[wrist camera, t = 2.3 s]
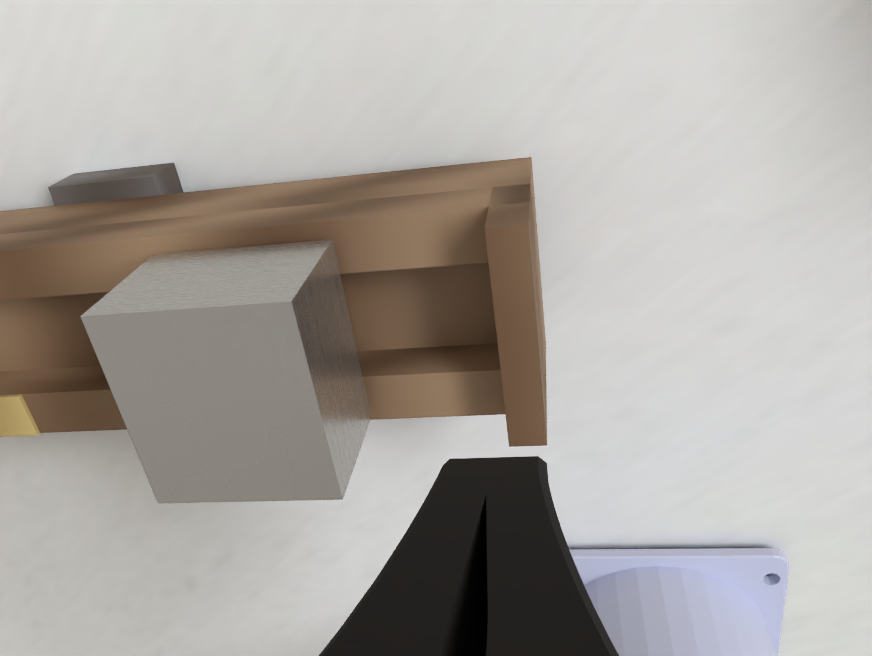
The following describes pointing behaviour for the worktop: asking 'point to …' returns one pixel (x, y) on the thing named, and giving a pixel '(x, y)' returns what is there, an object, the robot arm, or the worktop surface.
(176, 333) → the block
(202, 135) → the worktop surface
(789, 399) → the worktop surface
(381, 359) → the beam
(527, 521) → the robot arm
